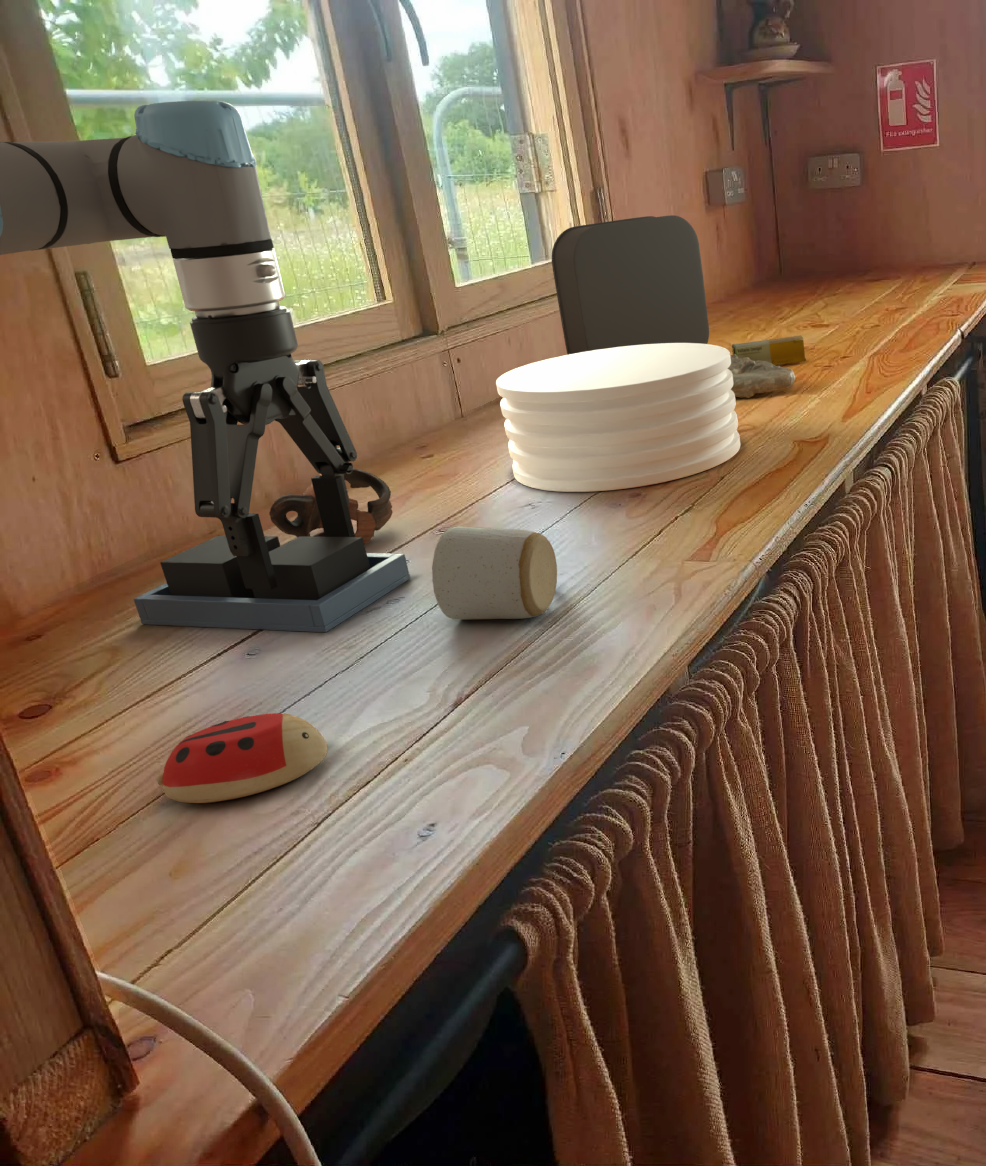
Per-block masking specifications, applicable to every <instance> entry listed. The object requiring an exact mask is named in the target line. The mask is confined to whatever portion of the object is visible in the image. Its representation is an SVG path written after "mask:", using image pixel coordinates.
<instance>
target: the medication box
mask: <svg viewBox="0 0 986 1166" xmlns="http://www.w3.org/2000/svg"><path fill="white" fill-rule="evenodd" d="M804 341H805V340H804V337H803V336H802V335H794V336H786V337H779V338H771V339H764V340H763V339H762V340H756V341H748V342H741V343H732V344H731V353H732V355H734V354H736V355H737V357H738V358H740V359H741V358H744V357H748V358H749V359H750V360H752V361H767V362H768V363H771V364H773V365H775V366H780V365H786V364H795V363H801V362H802V363H803V362H806V361H807V359H806V353H805V342H804Z"/></svg>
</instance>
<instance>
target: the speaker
mask: <svg viewBox="0 0 986 1166" xmlns="http://www.w3.org/2000/svg"><path fill="white" fill-rule="evenodd" d="M702 264H703V263H702V257H701V249H700V243H699V239H698V234H697V232H696V231H695V228H694V227H693V226H692V224H691V223H690V222H689V221H688V220H686V219H685V218H684V217H681V216H679V215H672V214H671V215H662V216H653V215H648V216H639V217H631V218H624V219H615V220H610V221H602V222H595V223H588V224H582V225H576V226H571V227H568V228H566V229H565V230H564V231H562V232H561V233H560V234H559V235H558V237H556V239H555V241H554V243H553V246H552V250H551V266H552V273H553V279H554V285H555V291H556V297H557V303H558V311H559V315H560V321H561V328H562V333H563V339H564V344H565V349H566V355H569V354H575V353H580V352H586V351H593V350H599V349H607V348H614V347H623V346H633V345H644V344H660V343H700V344H709V339H710V324H709V314H708V306H707V299H706V298H707V297H706V289H705V281H704V274H703V265H702Z"/></svg>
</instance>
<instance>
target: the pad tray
mask: <svg viewBox="0 0 986 1166" xmlns="http://www.w3.org/2000/svg"><path fill="white" fill-rule="evenodd" d="M366 553H367V557H368V561H369V565H370V569H369V570H367V571H366V572H364V573H362V574H361V575H359V576H357V577H356V578H354V579H352V580H350V581H349V582H347V583H345V584H344V585H342V586H340V587H339V588H337V589H335V590H334V591H332V592H330V593H329V594H327V595H325V596H323V597H322V598H320V599H318V600H317V601H316V600H292V599H262V598H232V597H203V596H173V595H171V594H170V591H169V588H168V585H167V582H165V583H163V584H161V585H159V586H156V587H155V588H152V589H151V590H148V591H147V592H145V593H142V594H140V595H138V596H136V597H133V602H134V605H135V607H136V610H137V614H138V616H139V620H140V623H141V625H149V626H150V625H153V626H154V625H155V626H175V627H177V626H178V627H196V628H199V627H200V628H217V629H219V628H221V629H239V630H240V629H241V630H242V629H243V630H262V631H263V630H264V631H265V630H266V631H287V632H288V631H290V632H307V633H308V632H309V633H310V632H311V633H328V632H329V631H331V630H332V629H334V628H335V627H337V626H338V625H339V624H341V623H343V622H345V621H347V619H349V618H351V617H352V616H354V615H355V614H357V613H359V612H360V611H362V610H363V609H365V608H366V607H369V605H371V604H373V603H374V602H376V601H378V600H379V599H380V598H382V597H384V596H385V595H387V594H388V593H389V592H392V591H393V590H395V589H396V588H398V587H400V586H401V585H402V584H405V583H406V582H407V581H409V580H410V579H411V575H410V572H409V567H408V563H407V560H406V559H407V558H406V555H405V553H381V552H366Z"/></svg>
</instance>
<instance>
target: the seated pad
mask: <svg viewBox="0 0 986 1166" xmlns="http://www.w3.org/2000/svg"><path fill="white" fill-rule="evenodd" d="M264 537H265V541H266V544H267V548H268V552H270V551H272V550H274V549H276V548H278V547H280V546H281V543H280V539H279V536H277V535H264ZM159 563H160V566H161V569H162V573H163V575H164V578H165V581H166V582H165V583H167V585H168V588H169V591H170V594H171V595H173V596H203V597H232V598H255V597H254V593H253V590H252V589H246V588H245V585H244V581H243V577H242V574H241V570H240V567H239V563H238V559H237V556H233V555H232V553H231V552H230V549H229V546H228V542H227V539H226V535H217V536H214V537H212V538H210V539H208V540H206V541H204V542H201V543H199V544H197V545H194V546H193V547H190V548H188V549H186V550H183V551H181V552H180V553H177V554H175V555H172V556H171V557H168V558H167V559H164V560H162V561H160V562H159Z"/></svg>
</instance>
